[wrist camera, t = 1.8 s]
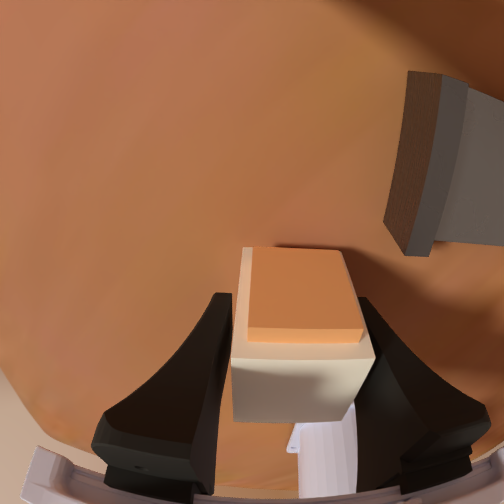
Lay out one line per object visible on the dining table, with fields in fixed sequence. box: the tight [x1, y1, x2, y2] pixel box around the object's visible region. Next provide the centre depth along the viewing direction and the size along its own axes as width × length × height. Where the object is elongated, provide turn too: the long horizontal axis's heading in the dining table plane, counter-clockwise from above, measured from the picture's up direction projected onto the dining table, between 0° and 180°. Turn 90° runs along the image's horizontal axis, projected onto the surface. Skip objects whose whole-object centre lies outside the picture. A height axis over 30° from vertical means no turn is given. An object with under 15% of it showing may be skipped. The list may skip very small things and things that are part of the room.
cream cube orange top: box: [231, 246, 376, 423], centre depth 11 cm, size 4×5×6 cm
